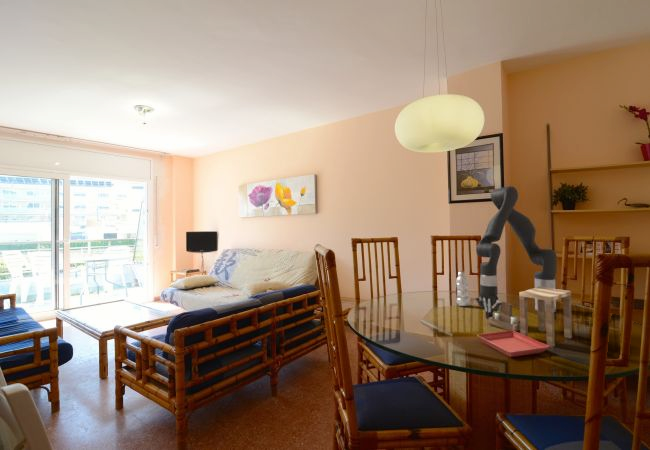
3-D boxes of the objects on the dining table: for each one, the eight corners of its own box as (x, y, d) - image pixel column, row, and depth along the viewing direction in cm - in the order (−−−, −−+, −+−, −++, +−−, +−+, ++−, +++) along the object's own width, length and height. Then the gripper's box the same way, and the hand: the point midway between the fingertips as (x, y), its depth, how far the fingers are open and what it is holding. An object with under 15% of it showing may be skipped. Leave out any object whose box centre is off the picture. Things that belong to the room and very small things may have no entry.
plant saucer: (550, 354, 120) (550, 345, 120) (509, 360, 116) (509, 351, 116) (512, 337, 137) (512, 330, 137) (476, 342, 133) (475, 334, 133)
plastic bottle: (470, 307, 183) (469, 272, 183) (457, 307, 184) (456, 272, 184) (467, 304, 189) (466, 270, 189) (455, 304, 191) (454, 270, 190)
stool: (540, 329, 144) (539, 286, 144) (571, 337, 134) (570, 291, 134) (520, 337, 136) (519, 292, 135) (552, 347, 125) (551, 297, 125)
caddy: (498, 321, 157) (498, 298, 156) (524, 328, 146) (524, 305, 146) (488, 324, 152) (489, 301, 152) (514, 332, 142) (514, 308, 142)
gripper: (471, 282, 160) (472, 317, 160) (497, 287, 148) (498, 324, 149) (480, 280, 163) (481, 314, 164) (506, 285, 152) (507, 321, 152)
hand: (489, 319), depth 156 cm, fingers closed
